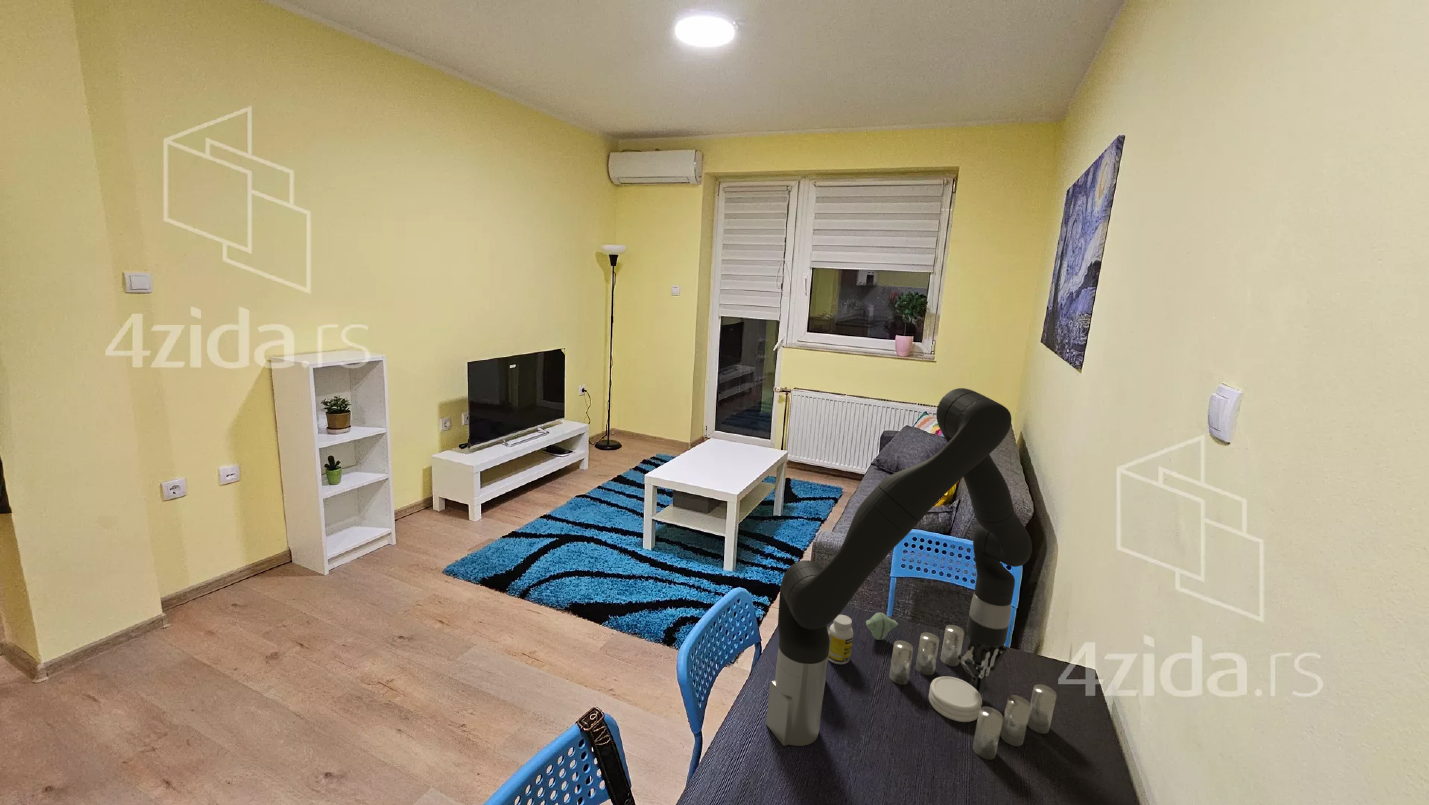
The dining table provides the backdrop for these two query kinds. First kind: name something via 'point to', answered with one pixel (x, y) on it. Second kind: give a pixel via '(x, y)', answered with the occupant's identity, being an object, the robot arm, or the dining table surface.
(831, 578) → the robot arm
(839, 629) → the supplement bottle
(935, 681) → the white round lidded container
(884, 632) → the pale green rounded piece
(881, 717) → the dining table surface
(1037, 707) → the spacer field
